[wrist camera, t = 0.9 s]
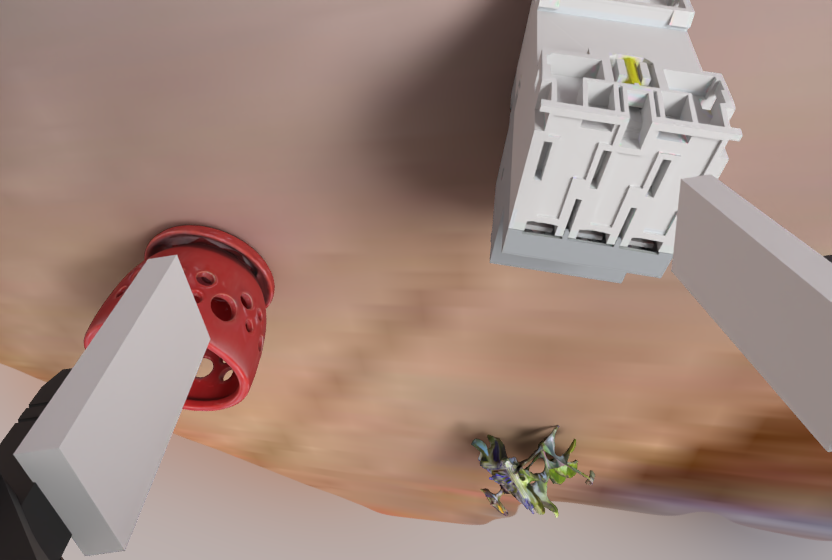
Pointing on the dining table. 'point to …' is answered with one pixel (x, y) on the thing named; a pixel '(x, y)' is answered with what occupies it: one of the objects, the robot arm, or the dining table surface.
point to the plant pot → (214, 307)
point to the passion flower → (526, 473)
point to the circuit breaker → (605, 138)
